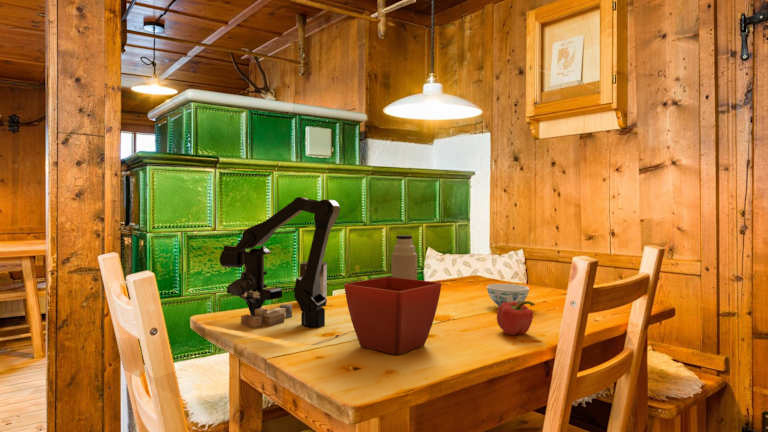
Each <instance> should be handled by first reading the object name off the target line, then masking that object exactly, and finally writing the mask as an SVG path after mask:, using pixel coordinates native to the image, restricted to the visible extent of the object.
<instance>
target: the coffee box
mask: <svg viewBox="0 0 768 432" xmlns="http://www.w3.org/2000/svg"><path fill="white" fill-rule="evenodd" d="M306 265H307V261H303V262H301V263H300V264H299V277H302V276H303V275H304V273H305V270H306ZM327 271H328V262H325V261H324V262H322V266H321V270H320V275H319V277H320V293H321V294H322V295H323V296H324V297H325V298H326V299H327V289H328V288H327V286H328V285H327V282H328V281H327V280H328V279H327V277H328V276H327V273H328V272H327Z"/></svg>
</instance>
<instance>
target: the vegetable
mask: <svg viewBox="0 0 768 432" xmlns="http://www.w3.org/2000/svg"><path fill="white" fill-rule="evenodd" d="M527 305H530V306H531V307H532V306H535V305H536V303H534V302H532V301H530V300H525V301H524V302H521V303H519V304H518V303H517V302H512V303H509V302H506V303H502V304H501V305H500V306H499V308H498V307H497V308H498V309H497V313H496V322H497V325H498V326H499V328H500V329H501V330H502V332H503V333H504V334H506V335H509V336H516V335H524V334H526V333H527V332H528V331H529V330H530V328H531V325H532V322H533V318H534V313H533V311H532V309H529V307H528V306H527Z"/></svg>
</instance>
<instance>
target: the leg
mask: <svg viewBox="0 0 768 432" xmlns="http://www.w3.org/2000/svg"><path fill="white" fill-rule="evenodd" d="M275 312H280V313H284V320H285V319H289V318H292V317H293V305H292V304H290V303H289V304H280V305H279V307H275V308H271V309H268V308H263V307H261V308H259V309H255V316H258V317H261V326H264V325H263V315H267V314H271V313H275Z"/></svg>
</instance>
